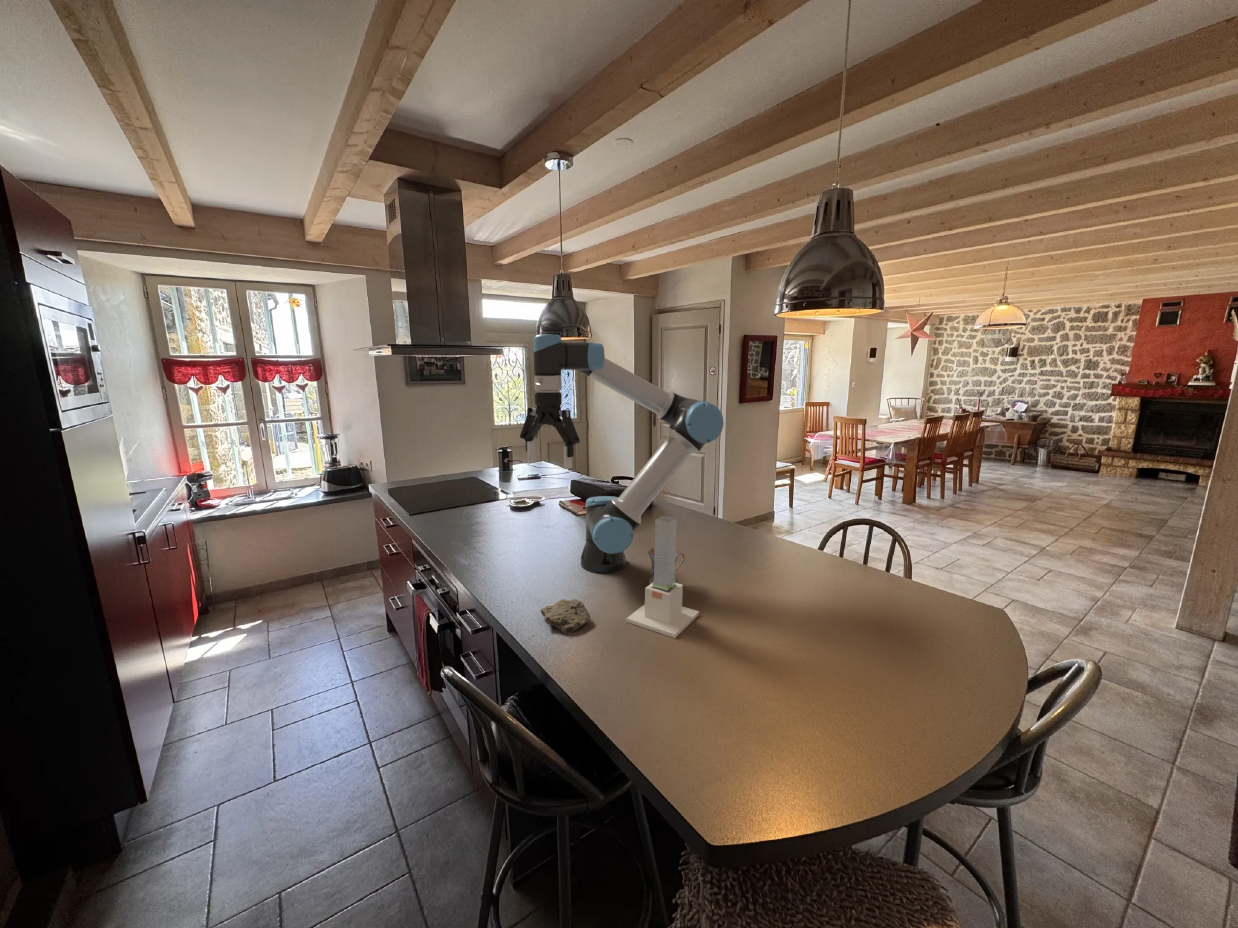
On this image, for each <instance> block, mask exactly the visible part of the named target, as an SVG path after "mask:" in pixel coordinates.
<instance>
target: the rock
mask: <svg viewBox="0 0 1238 928" xmlns="http://www.w3.org/2000/svg"><path fill="white" fill-rule="evenodd" d="M540 613H541V615H542V616H543V617H544V620H545V621H546V623H547V624H549V625H551V626H552V627H556V628H558V630H560V631H561V632H562V633H564V634H565V635H567V636H568V635H571V634H572V633H573V632H574V631H576V630H578V629H579V628H581V627H583V625H584V624H585V623H586V622H587V623H588V621H590V619H591V616H590V615H591V614H590V612H589V610H588V609H587V607H586V605H585V604H583V601H581V600H578V599H577V598H576V599H575V598H574V599H571V600H569V599H568V600H567V599H564V598H563V599H560V600H558V601H557V602H556V603H555V604H553V605H547V606H545V607H543V608H540Z"/></svg>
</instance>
